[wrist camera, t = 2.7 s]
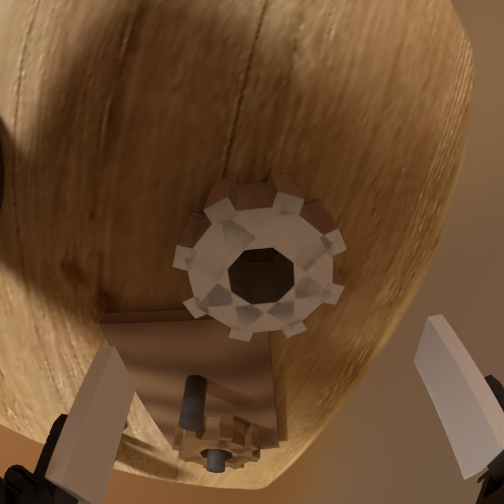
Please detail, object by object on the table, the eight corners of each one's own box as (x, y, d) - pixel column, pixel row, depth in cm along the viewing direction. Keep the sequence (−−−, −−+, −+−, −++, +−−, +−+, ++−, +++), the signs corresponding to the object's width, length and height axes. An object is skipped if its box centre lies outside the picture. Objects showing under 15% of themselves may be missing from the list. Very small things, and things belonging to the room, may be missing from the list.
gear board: (105, 313, 25) (77, 366, 19) (265, 302, 24) (270, 364, 18) (175, 440, 35) (169, 480, 29) (278, 438, 35) (282, 480, 29)
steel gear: (177, 180, 19) (157, 205, 15) (325, 165, 19) (348, 185, 15) (203, 300, 24) (195, 345, 19) (325, 288, 24) (341, 331, 19)
